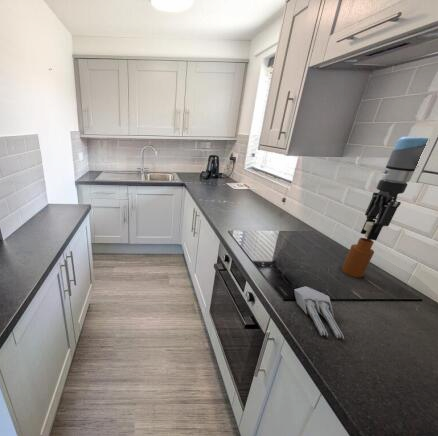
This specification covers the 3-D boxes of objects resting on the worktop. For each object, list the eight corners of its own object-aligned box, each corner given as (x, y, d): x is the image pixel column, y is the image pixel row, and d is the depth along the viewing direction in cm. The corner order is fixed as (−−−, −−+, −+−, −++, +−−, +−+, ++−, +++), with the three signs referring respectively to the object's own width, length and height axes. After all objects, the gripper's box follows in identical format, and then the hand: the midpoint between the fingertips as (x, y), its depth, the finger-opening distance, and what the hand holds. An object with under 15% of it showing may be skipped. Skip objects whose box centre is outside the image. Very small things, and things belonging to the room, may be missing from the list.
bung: (372, 235, 96) (378, 222, 94) (378, 240, 92) (385, 227, 89) (358, 233, 97) (364, 220, 95) (364, 238, 93) (370, 225, 91)
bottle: (358, 269, 103) (372, 238, 97) (365, 279, 97) (382, 246, 91) (338, 266, 106) (352, 235, 99) (345, 274, 99) (360, 242, 93)
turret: (311, 339, 71) (317, 330, 68) (288, 289, 87) (292, 280, 85) (347, 345, 69) (354, 336, 67) (317, 293, 86) (322, 284, 84)
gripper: (369, 175, 94) (348, 226, 103) (395, 185, 79) (367, 244, 88) (392, 177, 92) (368, 229, 101) (423, 187, 76) (392, 248, 86)
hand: (368, 236), depth 94 cm, fingers closed on bung, 5 cm apart
